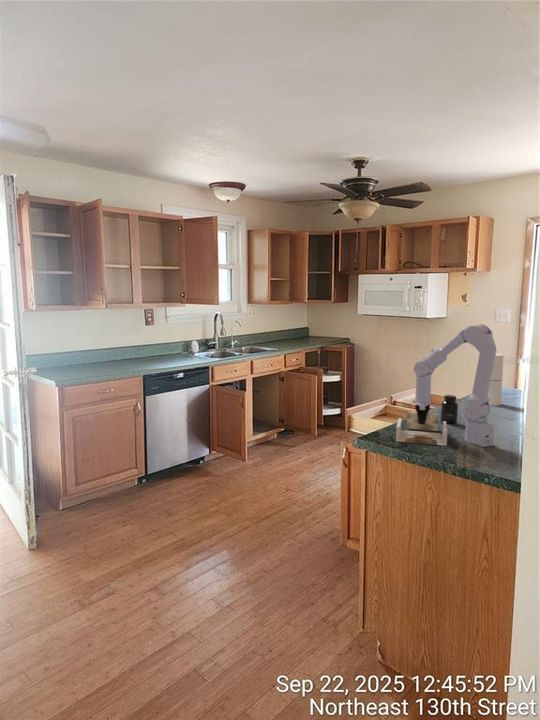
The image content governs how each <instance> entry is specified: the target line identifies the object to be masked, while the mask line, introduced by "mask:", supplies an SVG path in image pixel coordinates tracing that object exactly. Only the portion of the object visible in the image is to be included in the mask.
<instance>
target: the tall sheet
mask: <svg viewBox="0 0 540 720" xmlns="http://www.w3.org/2000/svg"><path fill="white" fill-rule="evenodd" d="M407 429H408V430H419V431H420V430H421V431H432V432H433V431H434V432H435V431H436V432H438V431H439V413H431V412H428V413H427V416H426V421H425V424H419V421H418V414H417V411H416V412H415V411H406V430H407Z"/></svg>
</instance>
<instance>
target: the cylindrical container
mask: <svg viewBox="0 0 540 720" xmlns="http://www.w3.org/2000/svg"><path fill="white" fill-rule="evenodd" d="M503 369H504V354H502V353H496V355H495V360H494V365H493V370H492V375H491V380H490V385H489V390H488V395H487V396H488V397H489V399H490V400H489V406H492V405H494V407H497V406H501V403H502V387H503V372H504V370H503Z"/></svg>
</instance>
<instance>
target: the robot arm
mask: <svg viewBox="0 0 540 720" xmlns="http://www.w3.org/2000/svg"><path fill="white" fill-rule="evenodd" d="M467 343H468V344H469V345H471V346H473V347H474V348H475V349H476V350H477V351H478V353H479V355H478V359H477V360H478V361H477V365H476V370H475V375H474V382H473V387H472V392H471V395H470V396H469V398H468V400H467V403H466V405H465V406H464V407H463V415H464V417H465V429H464V430H465V432H464V433H465V435H464V441H465V442H467V443H469V444H470V443H471V444H473V445H476V446H479V447H482V448H486V447H492V446H495V443H494V432H495V431H494V430H495V429H494V426H493V424H491V423H489V422H488V415H489V414H490V412H491V405H489V400H490V399H489V397H488V396H487V395H488V390H489V385H490V380H491V375H492V370H493V365H494V360H495V355H496V354H497V345H496V343H495V340H494V338H493V331H492V330H491V329H490V328H489V326H487V325H485V324H483V323H482V324H481V323H480V324H476V325H468V326H467V327H465V328H464V329H462V330H460V331H459V332H458V333H457V334H456V335H455V336H454V337H453V338H451V339H450V340H449V341H448V342H447V343H446V344H445V345H444V346H443V347H442V348H434V349H431V350H430V353H429V354H428V355H426V356H423V357H422V360H421V361H417V362H416V363H415V364H414V366H413V371H414V373H415V374H416V376H415V399H411V401H412V402H411V403H412V404H413V403H415V406H414V409H415V411H416V412H417V414H418V421H419V424H425V421H426V416H427V413H430V410H431V409H430V408H431V404H432V402H431V391H432V390H431V389H432V388H431V387H432V374H434V371H435V370H436V369H437V368H438V367H439V366H440V365H442V364H444V362H445V361H447V359H448V356H449V354H450V353H452V352H454V351H455V350H456V349H458V348H459V347H460V346H462V345H463V344H467Z"/></svg>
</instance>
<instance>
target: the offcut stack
mask: <svg viewBox="0 0 540 720" xmlns="http://www.w3.org/2000/svg"><path fill="white" fill-rule="evenodd" d="M413 442H415V443H416V444H424V443H426V444H425V445H436V444H437V440H434V439H433V435H422V434H415V436H409V435H407V437H406V442H405V443H413Z"/></svg>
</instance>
